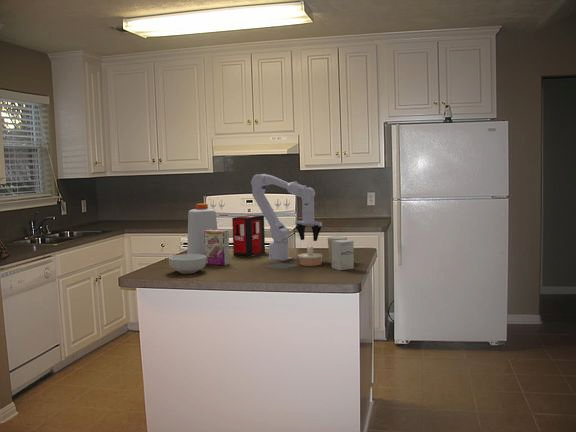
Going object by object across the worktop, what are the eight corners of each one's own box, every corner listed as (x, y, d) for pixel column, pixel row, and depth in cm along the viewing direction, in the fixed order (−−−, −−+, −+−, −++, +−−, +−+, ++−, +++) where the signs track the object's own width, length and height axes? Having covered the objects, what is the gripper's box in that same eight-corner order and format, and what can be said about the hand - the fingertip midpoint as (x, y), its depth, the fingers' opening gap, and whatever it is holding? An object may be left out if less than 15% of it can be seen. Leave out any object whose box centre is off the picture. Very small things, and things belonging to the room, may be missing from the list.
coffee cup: (346, 264, 267) (346, 238, 266) (326, 264, 269) (326, 238, 268) (348, 260, 277) (348, 236, 275) (329, 260, 278) (328, 236, 277)
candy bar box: (204, 264, 276) (203, 230, 274) (210, 262, 280) (209, 229, 279) (224, 265, 271) (223, 231, 270) (230, 264, 276) (228, 230, 274)
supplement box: (340, 270, 252) (339, 242, 251) (331, 268, 259) (330, 240, 258) (354, 268, 256) (353, 240, 255) (345, 266, 262) (344, 239, 261)
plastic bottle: (213, 255, 304) (211, 202, 301) (222, 259, 290) (220, 204, 287) (185, 257, 297) (183, 203, 295) (193, 262, 284) (191, 205, 281)
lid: (292, 256, 267) (292, 248, 267) (307, 253, 276) (307, 244, 276) (312, 259, 260) (312, 249, 260) (327, 255, 269) (327, 246, 269)
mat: (263, 267, 264) (263, 266, 264) (278, 263, 274) (278, 262, 274) (283, 270, 257) (283, 269, 257) (299, 265, 267) (299, 264, 267)
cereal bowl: (189, 277, 246) (188, 260, 246) (161, 274, 255) (160, 258, 254) (214, 270, 261) (214, 254, 260) (187, 267, 269) (186, 252, 269)
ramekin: (295, 265, 268) (295, 256, 268) (308, 262, 276) (307, 253, 276) (313, 267, 262) (313, 258, 262) (325, 263, 270) (325, 255, 270)
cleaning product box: (247, 257, 295) (246, 218, 293) (233, 256, 299) (232, 217, 297) (265, 252, 309) (263, 215, 307) (251, 251, 314) (250, 215, 312)
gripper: (291, 212, 279) (291, 240, 280) (316, 213, 271) (316, 242, 272) (299, 211, 285) (300, 238, 286) (324, 212, 276) (324, 240, 277)
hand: (308, 240), depth 279 cm, fingers open, 7 cm apart
